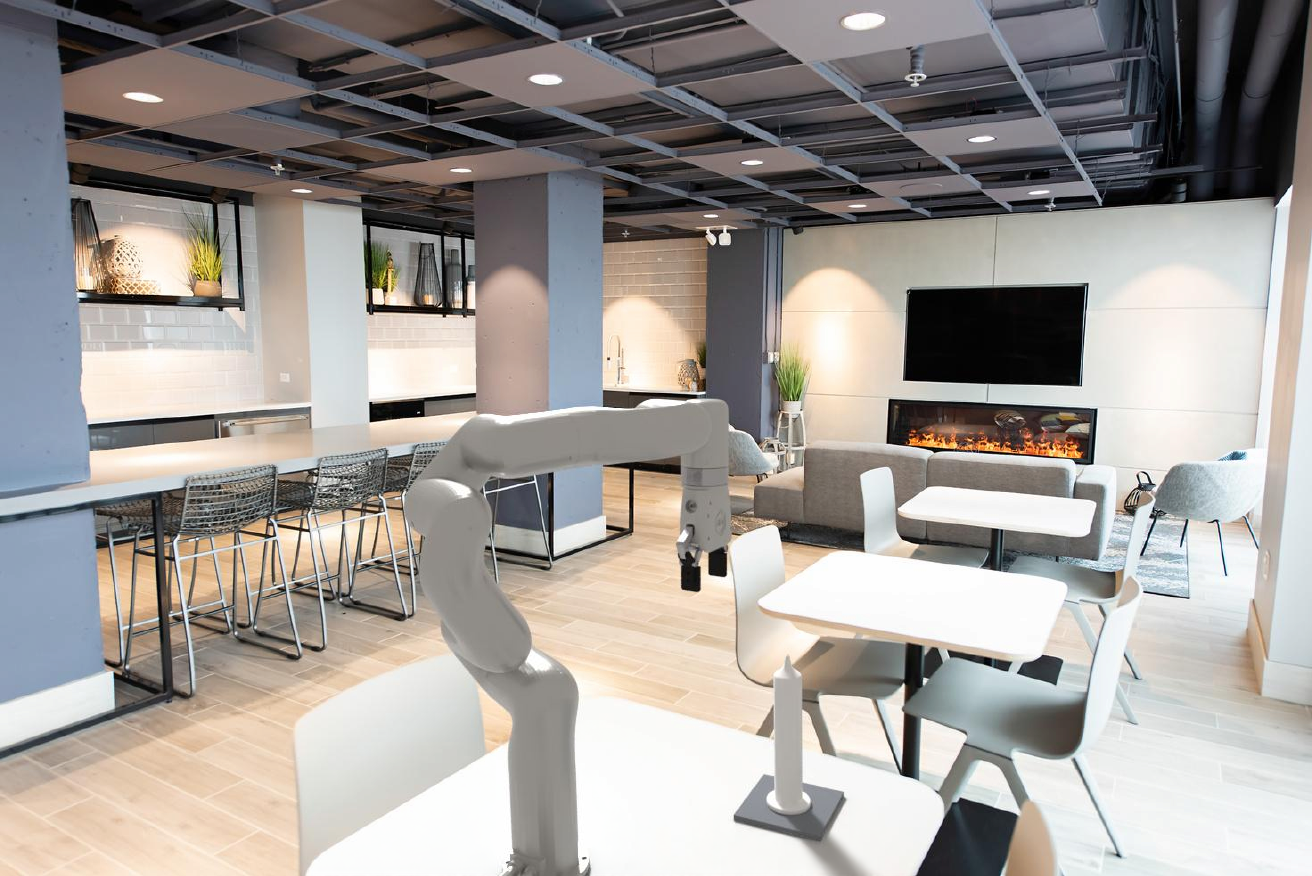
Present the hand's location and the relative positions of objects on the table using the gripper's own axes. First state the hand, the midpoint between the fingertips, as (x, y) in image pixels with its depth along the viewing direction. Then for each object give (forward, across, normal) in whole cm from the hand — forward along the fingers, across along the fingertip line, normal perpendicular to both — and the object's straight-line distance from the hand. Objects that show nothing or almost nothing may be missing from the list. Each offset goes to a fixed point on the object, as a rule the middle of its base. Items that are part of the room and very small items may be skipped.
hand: (704, 583), depth 137 cm
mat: (+37, +5, -13) cm, 39 cm away
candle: (+36, +5, -13) cm, 39 cm away
